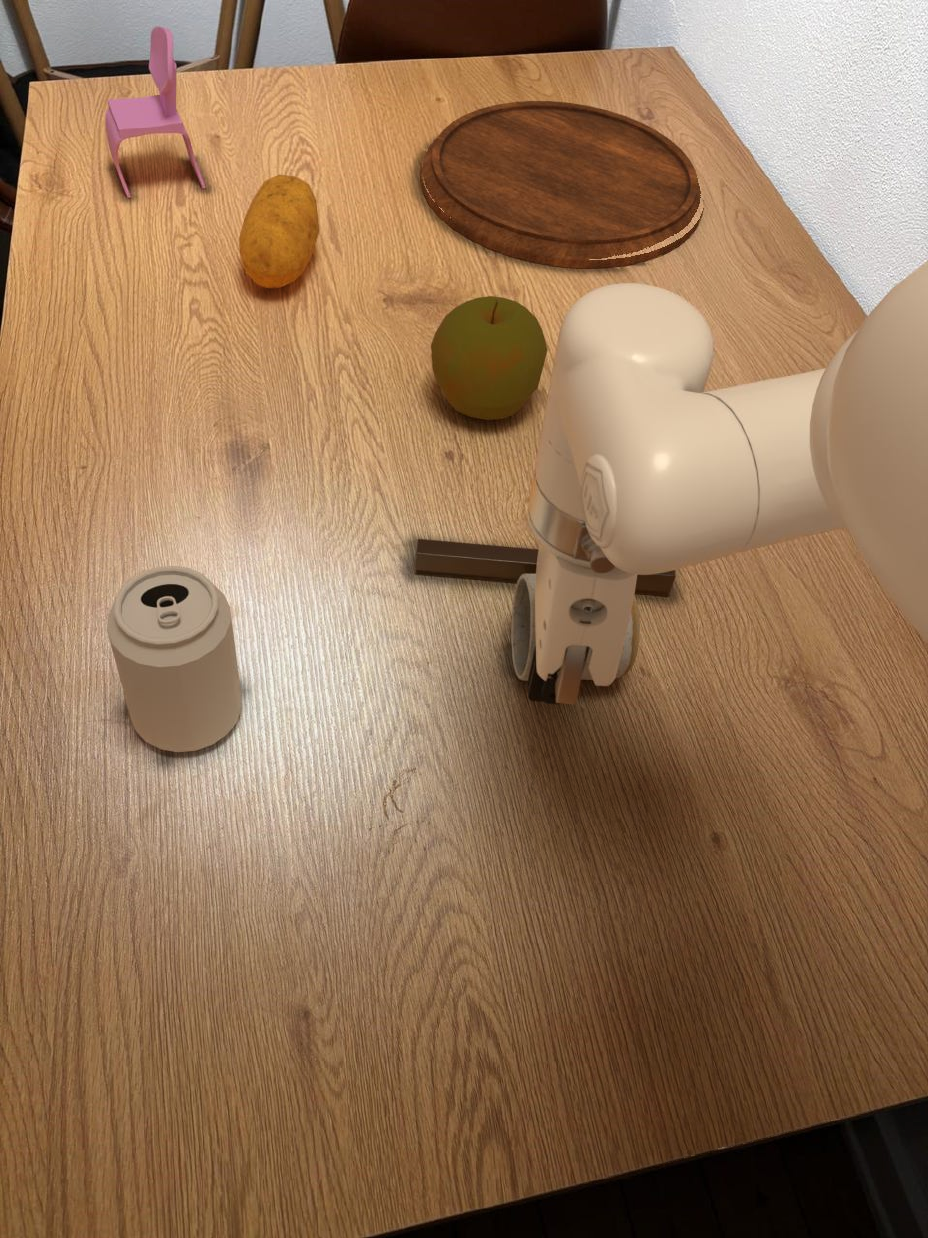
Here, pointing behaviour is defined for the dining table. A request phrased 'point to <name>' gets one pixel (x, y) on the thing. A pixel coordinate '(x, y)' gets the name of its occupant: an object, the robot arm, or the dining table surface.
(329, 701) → the dining table surface
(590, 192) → the cutting board
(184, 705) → the can
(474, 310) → the apple
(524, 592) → the ceramic mug
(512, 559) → the back rail
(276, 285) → the potato
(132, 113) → the toy chair
